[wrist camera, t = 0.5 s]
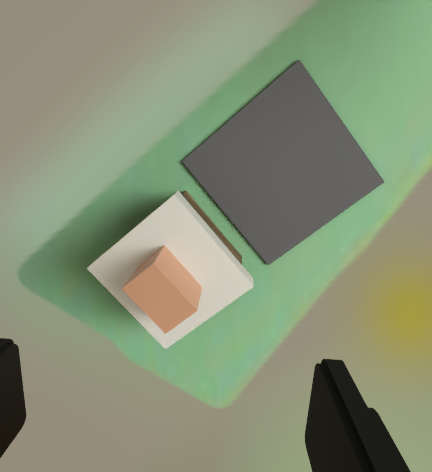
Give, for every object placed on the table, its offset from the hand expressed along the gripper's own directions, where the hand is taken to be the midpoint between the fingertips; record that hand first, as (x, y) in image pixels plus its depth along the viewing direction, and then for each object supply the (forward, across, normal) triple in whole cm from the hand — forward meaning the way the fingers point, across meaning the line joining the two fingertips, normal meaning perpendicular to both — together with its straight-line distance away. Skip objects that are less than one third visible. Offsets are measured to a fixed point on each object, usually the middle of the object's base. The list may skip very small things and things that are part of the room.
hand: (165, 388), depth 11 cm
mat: (+33, -8, -4) cm, 34 cm away
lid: (+27, +4, +6) cm, 28 cm away
